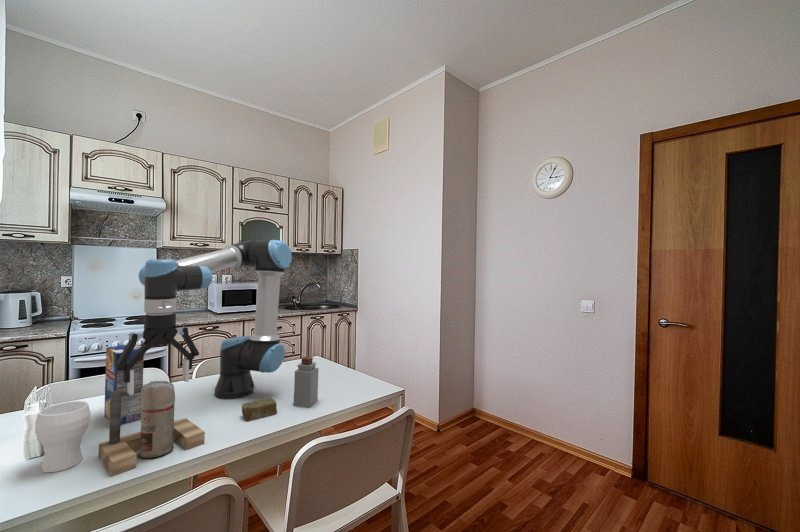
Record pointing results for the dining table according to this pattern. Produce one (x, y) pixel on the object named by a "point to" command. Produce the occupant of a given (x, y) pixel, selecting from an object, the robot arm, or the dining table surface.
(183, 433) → the wooden stand
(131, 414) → the juice carton
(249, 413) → the stone block
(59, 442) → the cup
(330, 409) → the dining table surface
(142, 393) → the spray can
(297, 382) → the perfume bottle
